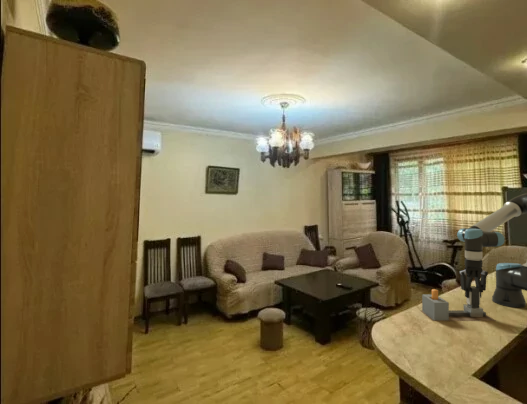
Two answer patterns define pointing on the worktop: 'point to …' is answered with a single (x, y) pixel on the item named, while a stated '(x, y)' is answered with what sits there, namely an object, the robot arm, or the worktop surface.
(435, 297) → the button
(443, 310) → the end cabinet
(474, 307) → the carriage
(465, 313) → the rail
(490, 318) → the base board
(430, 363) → the worktop surface
